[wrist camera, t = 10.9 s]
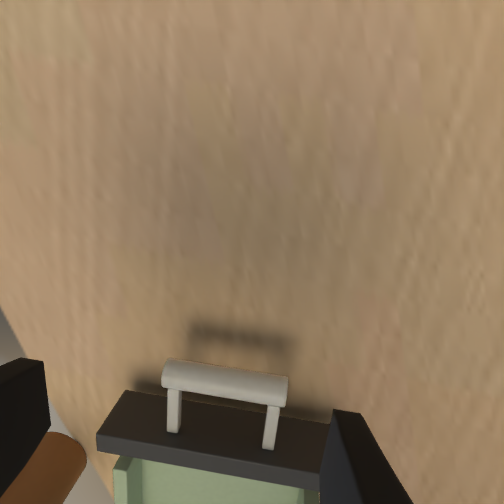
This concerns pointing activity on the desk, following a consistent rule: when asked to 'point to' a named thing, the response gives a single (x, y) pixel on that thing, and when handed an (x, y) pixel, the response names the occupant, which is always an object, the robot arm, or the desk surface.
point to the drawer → (212, 442)
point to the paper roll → (48, 472)
